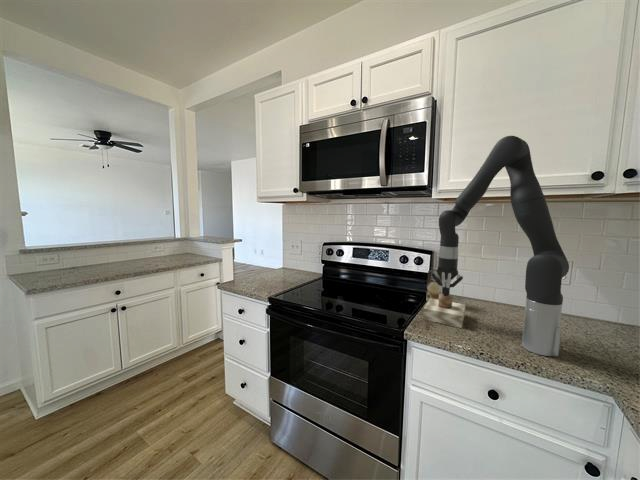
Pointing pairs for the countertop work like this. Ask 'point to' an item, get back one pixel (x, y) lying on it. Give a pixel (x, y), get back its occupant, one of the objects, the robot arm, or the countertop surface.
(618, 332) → the countertop surface
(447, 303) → the walnut peg
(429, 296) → the coffee box
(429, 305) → the birch block
